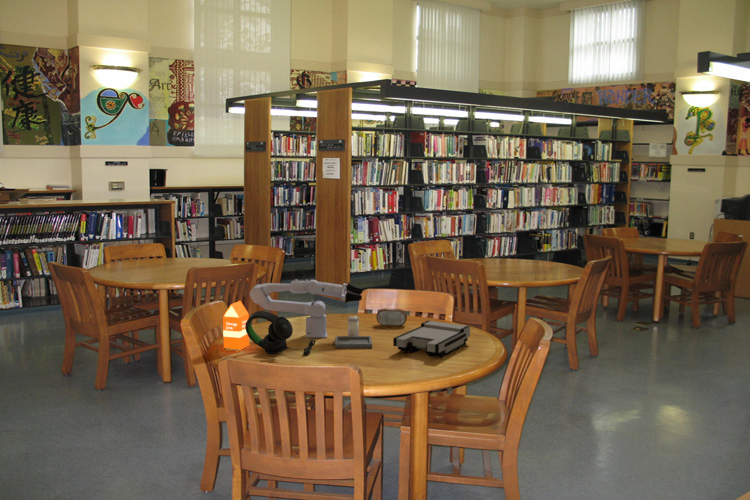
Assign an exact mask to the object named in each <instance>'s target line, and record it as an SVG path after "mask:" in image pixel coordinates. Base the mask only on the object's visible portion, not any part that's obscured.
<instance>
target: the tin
mask: <svg viewBox="0 0 750 500" xmlns="http://www.w3.org/2000/svg"><path fill="white" fill-rule="evenodd" d="M375 317H376V321H377V323H378V324H379V325H381V326H386V327H401V326H403V325H405V323H406V322H407V321H408V315H407V313H406V312H405V310H403V309H401V308H380V309H379V310H378V311H377V313H376V316H375Z"/></svg>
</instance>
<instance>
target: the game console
mask: <svg viewBox="0 0 750 500" xmlns="http://www.w3.org/2000/svg"><path fill="white" fill-rule="evenodd" d="M470 336H471V325H464V324H463V325H462V324H457V323H456V324H455V323H449V322H440V321H434V320H433V321H431V320H427V321H423V322H421V323H420V326H418V327H416V328H413V329H411V330H409V331H406V332H404V333H402V334H400V335H397V336H395V337H393V344H392V345H393V347H397V350H400V352H403V353H410V354H415V353H417V352H420V351H421V350H423V351H425V354H426V355H428V356H429V357H435V358H440V359H441V358H444V357H446V356H448V355H450V354H451V353H453V352H455V351H457V350H459V349H461V348H462V347H464V346H466V345H467V341H468V338H470Z"/></svg>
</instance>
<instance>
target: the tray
mask: <svg viewBox="0 0 750 500" xmlns="http://www.w3.org/2000/svg"><path fill="white" fill-rule="evenodd" d="M334 339H335V340H334V349H373V341H372V336H371V335H359V336H348V335H335V338H334Z"/></svg>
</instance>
